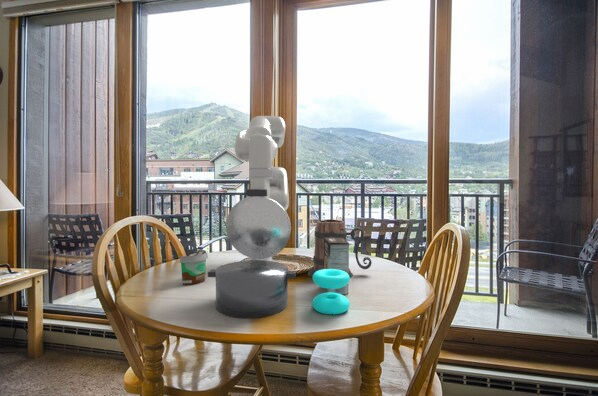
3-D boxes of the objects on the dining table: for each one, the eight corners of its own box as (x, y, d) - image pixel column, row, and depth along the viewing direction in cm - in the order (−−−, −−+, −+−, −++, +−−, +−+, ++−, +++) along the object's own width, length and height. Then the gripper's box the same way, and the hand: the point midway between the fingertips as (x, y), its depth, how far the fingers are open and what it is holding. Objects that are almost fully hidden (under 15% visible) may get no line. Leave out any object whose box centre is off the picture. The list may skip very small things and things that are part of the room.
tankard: (305, 279, 116) (306, 223, 115) (309, 267, 133) (309, 218, 132) (373, 282, 113) (374, 224, 112) (368, 269, 130) (369, 218, 129)
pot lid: (227, 258, 104) (230, 255, 106) (291, 259, 102) (291, 256, 105) (223, 189, 99) (226, 188, 101) (289, 190, 97) (290, 188, 100)
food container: (197, 287, 107) (196, 257, 106) (180, 286, 108) (179, 256, 108) (214, 277, 119) (214, 249, 118) (198, 276, 120) (198, 248, 120)
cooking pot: (220, 290, 104) (220, 259, 103) (298, 292, 102) (298, 260, 102) (196, 316, 84) (196, 278, 83) (292, 319, 82) (292, 280, 82)
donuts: (310, 268, 94) (345, 267, 94) (310, 302, 94) (345, 301, 95) (315, 278, 84) (353, 277, 84) (314, 316, 84) (353, 315, 85)
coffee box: (323, 285, 110) (323, 237, 109) (342, 285, 110) (343, 237, 109) (328, 294, 100) (328, 242, 100) (349, 294, 101) (349, 242, 100)
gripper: (254, 175, 113) (254, 228, 113) (243, 173, 98) (244, 235, 98) (275, 175, 112) (275, 229, 113) (268, 173, 97) (269, 235, 98)
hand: (261, 231), depth 106 cm, fingers closed
